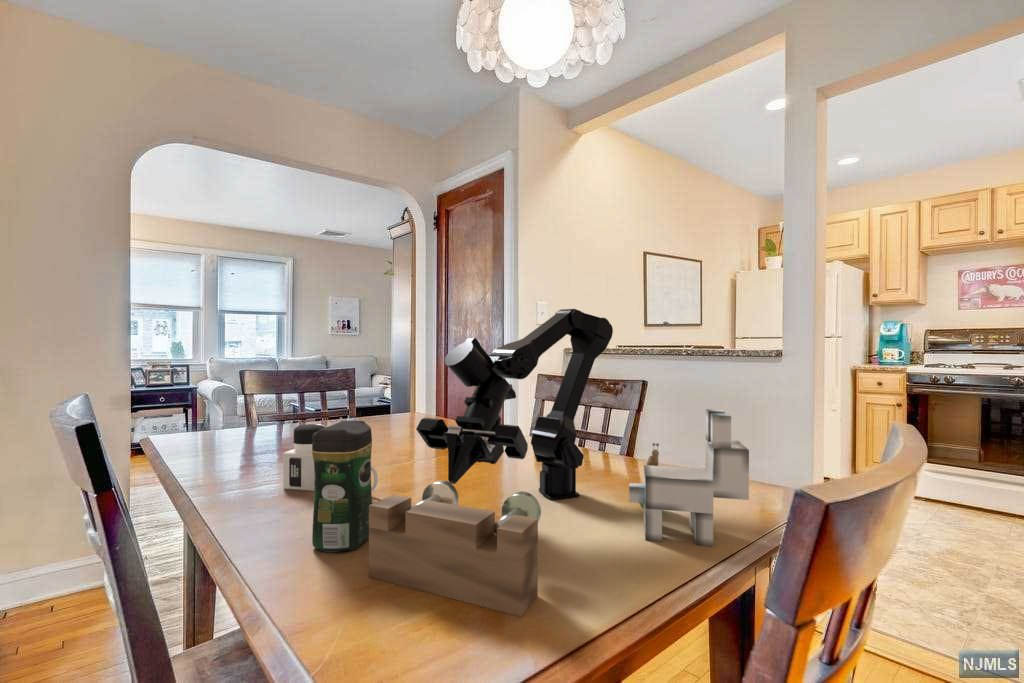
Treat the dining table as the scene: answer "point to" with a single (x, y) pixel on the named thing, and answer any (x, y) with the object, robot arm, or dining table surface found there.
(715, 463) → the toy llama
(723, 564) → the dining table surface
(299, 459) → the container
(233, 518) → the dining table surface
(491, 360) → the robot arm
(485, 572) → the block
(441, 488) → the silver rounded piece
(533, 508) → the knob sage
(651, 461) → the snail figurine
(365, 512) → the coffee jar
